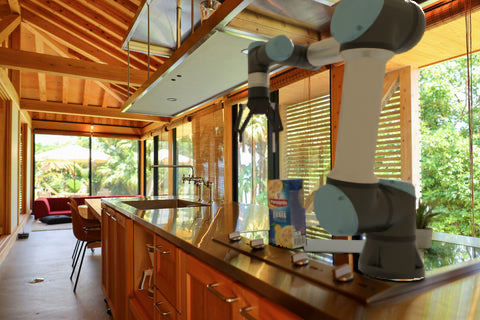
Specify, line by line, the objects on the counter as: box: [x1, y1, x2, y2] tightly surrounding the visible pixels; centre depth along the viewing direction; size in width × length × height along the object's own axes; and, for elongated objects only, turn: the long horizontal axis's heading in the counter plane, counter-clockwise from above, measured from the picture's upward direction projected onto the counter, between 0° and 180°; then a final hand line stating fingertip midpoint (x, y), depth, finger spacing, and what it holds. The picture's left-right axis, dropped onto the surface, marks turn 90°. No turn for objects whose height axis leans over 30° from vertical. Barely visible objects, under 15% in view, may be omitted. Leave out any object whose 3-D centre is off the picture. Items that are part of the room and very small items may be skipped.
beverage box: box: [266, 178, 308, 250], centre depth 115 cm, size 7×11×22 cm, turn 35°
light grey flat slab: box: [302, 238, 365, 255], centre depth 112 cm, size 18×22×1 cm
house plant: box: [416, 197, 445, 249], centre depth 112 cm, size 14×14×16 cm
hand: (258, 152), depth 116 cm, fingers open, 10 cm apart
